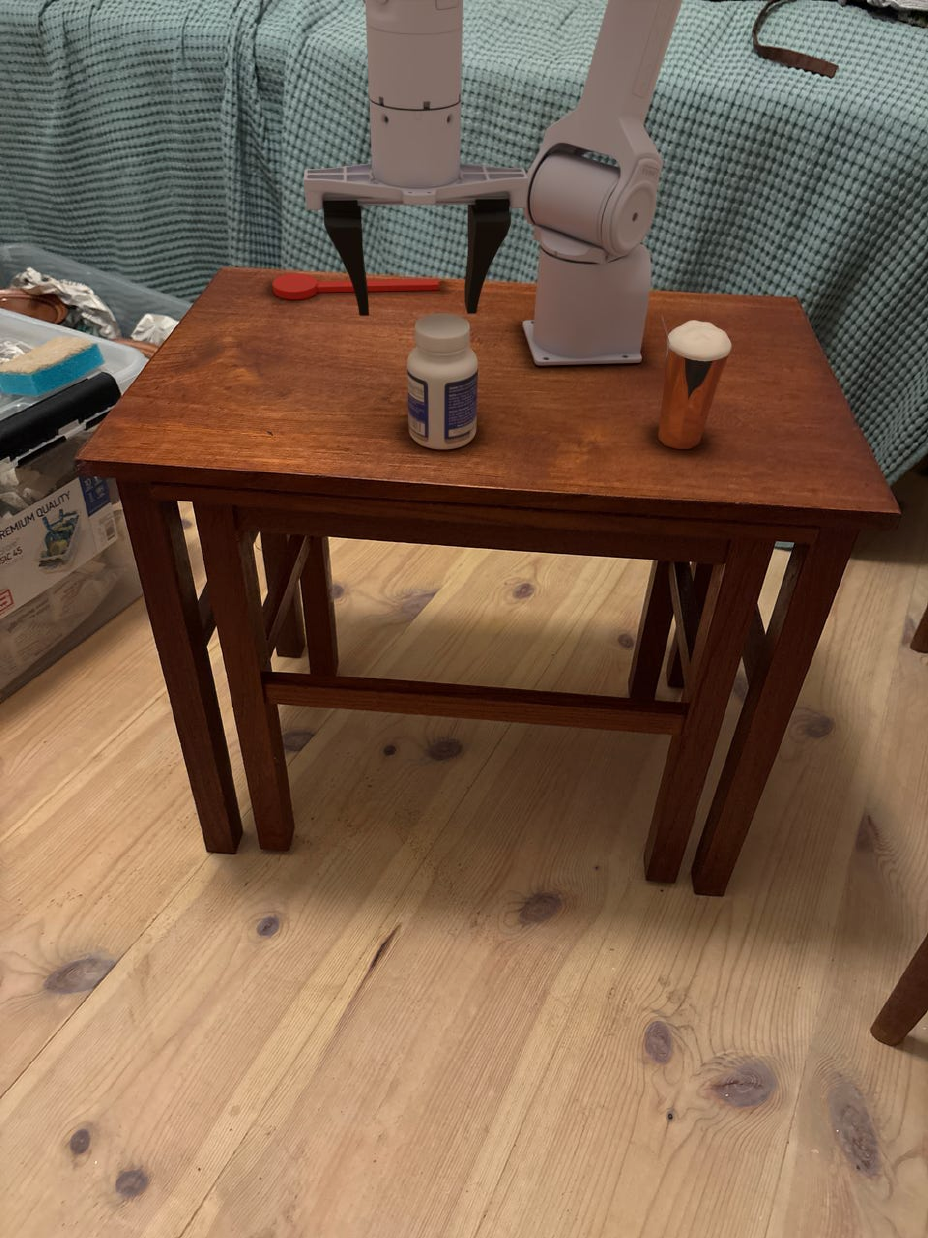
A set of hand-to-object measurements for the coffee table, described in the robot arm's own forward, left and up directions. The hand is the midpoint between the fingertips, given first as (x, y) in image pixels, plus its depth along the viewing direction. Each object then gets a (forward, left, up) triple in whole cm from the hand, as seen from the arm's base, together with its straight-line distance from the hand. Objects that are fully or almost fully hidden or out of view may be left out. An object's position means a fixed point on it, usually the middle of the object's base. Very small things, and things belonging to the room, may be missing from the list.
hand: (417, 308), depth 66 cm
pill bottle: (-2, +2, -10) cm, 10 cm away
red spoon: (+5, -25, -9) cm, 28 cm away
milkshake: (-20, +4, -10) cm, 22 cm away
